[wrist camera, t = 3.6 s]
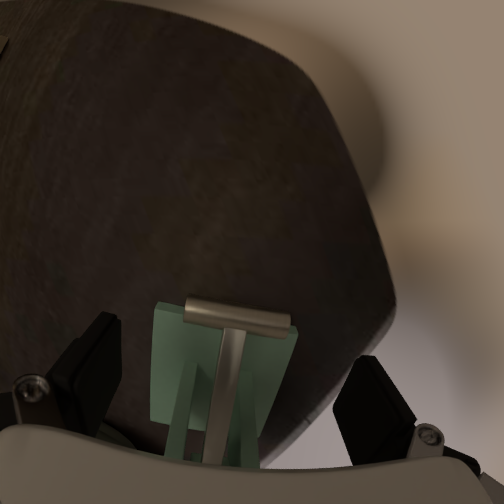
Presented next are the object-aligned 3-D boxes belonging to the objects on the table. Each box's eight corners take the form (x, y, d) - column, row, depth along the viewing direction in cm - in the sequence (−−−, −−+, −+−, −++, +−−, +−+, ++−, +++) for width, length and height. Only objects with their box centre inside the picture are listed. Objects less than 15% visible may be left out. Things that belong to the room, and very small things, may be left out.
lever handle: (190, 293, 15) (186, 293, 13) (283, 310, 16) (295, 312, 13) (164, 480, 13) (159, 502, 11) (244, 491, 14) (249, 513, 11)
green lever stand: (158, 300, 20) (96, 428, 8) (295, 325, 21) (342, 458, 10) (152, 411, 23) (125, 518, 12) (258, 428, 24) (268, 536, 13)
